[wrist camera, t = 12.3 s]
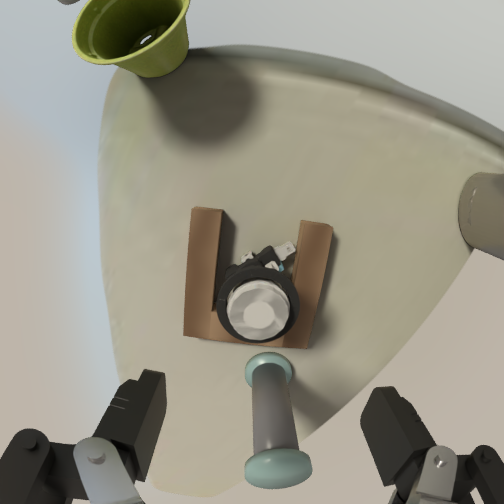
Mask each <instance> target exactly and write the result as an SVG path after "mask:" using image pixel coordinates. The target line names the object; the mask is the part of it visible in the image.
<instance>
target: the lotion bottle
mask: <svg viewBox="0 0 504 504" xmlns="http://www.w3.org/2000/svg"><path fill="white" fill-rule="evenodd" d="M58 1H59V2H61V3H62V4H65V5H69V4H73V3H76V2H77V1H79V0H58Z"/></svg>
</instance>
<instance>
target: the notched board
mask: <svg viewBox="0 0 504 504" xmlns="http://www.w3.org/2000/svg"><path fill="white" fill-rule="evenodd" d="M222 218H223V210H221V209H212V208H204V207H194V208H193V209H192V211H191V221H190V232H189V244H188V257H187V271H186V287H185V307H184V333H183V336H189V337H196V338H203V339H210V340H218V341H226V342H234V343H243V344H253V345H263V346H275V347H288V348H303V349H307V346H308V342H309V338H310V334H311V330H312V326H313V322H314V318H315V314H316V309H317V305H318V301H319V296H320V292H321V287H322V283H323V278H324V273H325V268H326V264H327V259H328V254H329V248H330V243H331V238H332V232H333V227H331V226H330V225H328V224H324V223H317V222H311V221H304V220H301V223H300V230H299V236H298V242H297V248H296V253H295V259H294V265H293V271H292V276H291V282H292V283H293V284H294V286H295V288H296V290H297V292H298V295H299V300H300V311H299V315H298V318H297V320H296V322H295V324H294V325H293V327H292V328H291V329H290V330H289V331H288V332H287V333H286V334H285V335H283V336H282V337H280V338H278V339H276V340H274V341H271V342H267V343H258V344H257V343H248V342H244V341H241V340H239V339H237V338H235V337H233V336H232V335H230V334H229V333H228V332H227V331H226V330H225V329H224V328H223V326H222V325H221V323H220V321H219V319H218V316H217V311H216V303H214V294H215V284H216V274H217V264H218V254H219V245H220V236H221V227H222ZM287 299H288V298H287Z"/></svg>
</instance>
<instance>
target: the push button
mask: <svg viewBox="0 0 504 504" xmlns="http://www.w3.org/2000/svg"><path fill="white" fill-rule="evenodd" d="M286 245H287V246H286ZM288 247H290V248H289V249H287V248H288ZM290 250H291V251H290ZM295 250H296V249H295V248H294V246H293V244H292V243H291V241H288V242H287V243H285V244H284V245H282V246H280V247H279V246H277V247H276V248H274V249H273V247H272V246H267V247H266V248H264V249H263V250H262V251H261V252H260V253H259V254H257V255H256V256H254V257H253V255H252V251H249V252H248V253H246V254H245V255H243V256H242V257H241V262H242V264H241V265H239V266H238V267H237V266H236V264H233V265H232V266H230V267H229V268H227V269H226V273H225V279H226V281H225V282H224V284H223V285H222V287H221V289H220V291H219V293H218V297H217V302H216V311H217V316H218V319H219V321H220V323H221V325H222V326H223V328H224V329H225V330H226V331H227V332H228V333H229V334H230V335H232V336H233V337H235V338H237V339H239V340H241V341H244V342H248V343H257V344H258V343H267V342H271V341H274V340H276V339H278V338H280V337H282V336H283V335H285V334H286V333H287V332H288V331H289V330H290V329H291V328H292V327H293V325H294V324H295V322H296V320H297V318H298V315H299V311H300V300H299V295H298V292H297V290H296V288H295V286H294V284H293V283H292V282H291V280H290V279H289V278H288V277H286V276H285V275H284V274H283V273H281V272H282V271H283V270H284V267H283V264H282V262H281V261H283V260H285V259H286V256H288V255H290V254H291V253H293V252H294V251H295ZM289 251H290V252H289ZM247 254H248V255H247ZM246 255H247V256H246ZM281 286H282V287H283V288H284V289H285V290H286V292H287V293H288V299H287V296H286V294H285V293H284V292H283V291H282V288H281ZM232 289H233V294H232V295H231V297H230V298H229V301H228V304H227V297H228V295H229V293H230V291H231V290H232Z"/></svg>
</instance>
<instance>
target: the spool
mask: <svg viewBox="0 0 504 504" xmlns="http://www.w3.org/2000/svg"><path fill="white" fill-rule="evenodd" d="M291 377H292V370H291V366H290V363H289V361H288V360H287V358H286V357H284V356H283V355H281V354H279V353H275V352H264V353H260V354H257V355H255V356H254V357H252V358H251V359H250V360H249V361H248V363H247V364H246V367H245V379H246V382H247V383H248V385H249V386H250V387H252V408H253V447H254V455H253V456H252V457H250V458H249V459H248V460H247V461H246V463H245V479H246V481H247V482H248V483H250V484H251V485H253V486H256V487H260V488H265V489H280V488H287V487H291V486H294V485H297V484H299V483H302V482H303V481H305V480H306V479H308V478H309V477H310V475H311V474H312V465H311V460H310V457H309V456H308V455H307V454H306V453H304V452H302V451H299V446H298V440H297V435H296V429H295V423H294V418H293V412H292V407H291V401H290V396H289V390H288V385H287V384H288V383H289V381H290V379H291Z"/></svg>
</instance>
